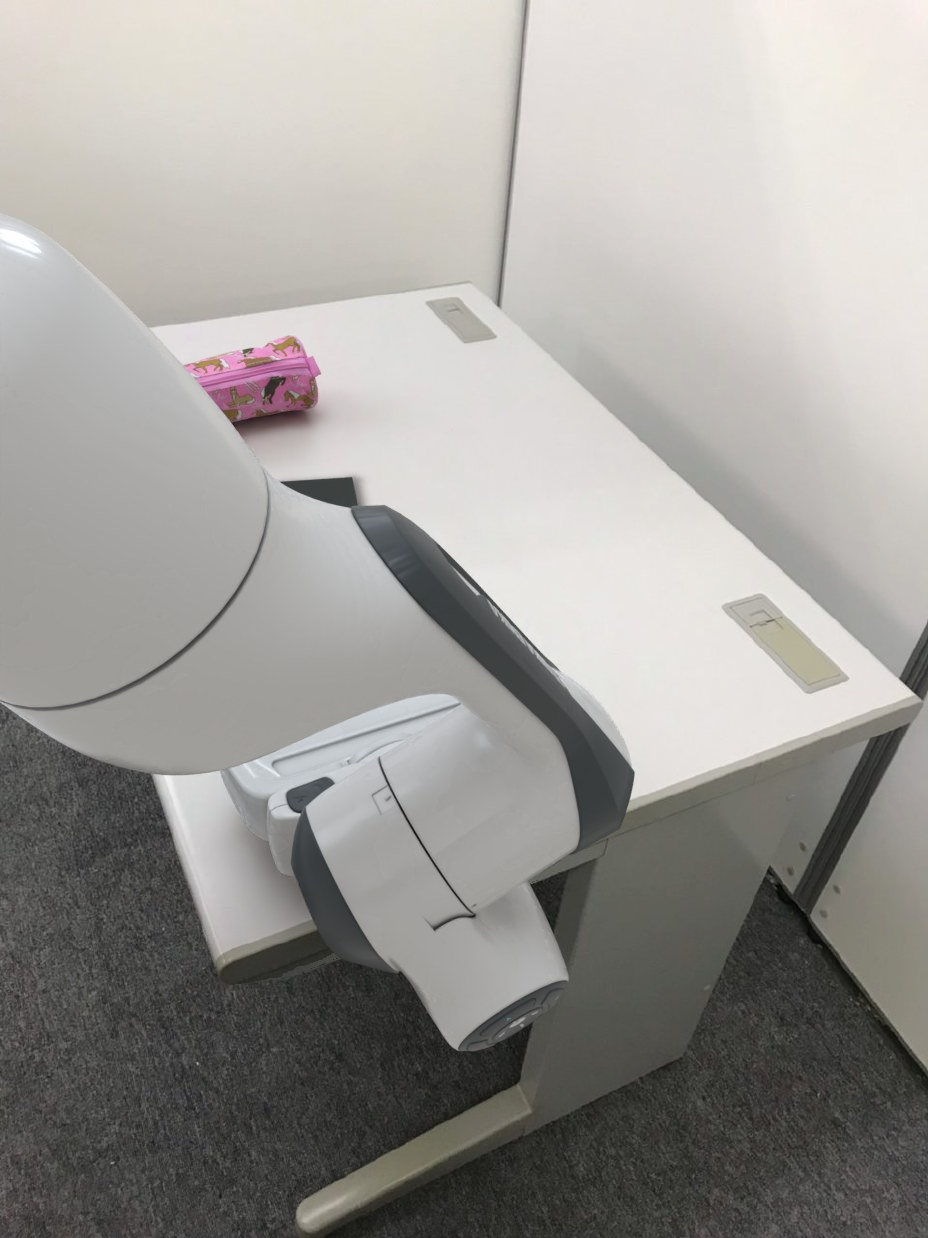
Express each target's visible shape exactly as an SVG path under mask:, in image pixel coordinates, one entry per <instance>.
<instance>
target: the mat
mask: <svg viewBox="0 0 928 1238" xmlns="http://www.w3.org/2000/svg"><path fill="white" fill-rule="evenodd" d="M280 482H281V483H282V484H283V485H285V486H287V487H289V488H290V489H292V490H294V491H296V492H298V493H301V494H303V495H305V496H308V497H310V498H313V499H316V500H319V501H322V502H326V503H329V504H333V505H338V506H343V507H348V508H351V507H352V506H359V504H358V499H357V495H356V494H357V493H356V489H355V485H354V480H353V476H347V477H330V478H314V479H300V480H299V479H298V480H297V479H296V480H282V481H280Z"/></svg>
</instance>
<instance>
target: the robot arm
mask: <svg viewBox="0 0 928 1238" xmlns="http://www.w3.org/2000/svg"><path fill="white" fill-rule="evenodd" d="M183 365H184V364H182V363H181V362H180V360H179V359H178V358H177V357H176V356H175V355H174V354H173V352H172V351H171V350H170V349H169V348H168V347H167V346H166V345H165V344H164V343H163V341H161V340H160V339H159V337H158V336H157V335H156V334H155V333H154V332H153V331H152V329H150V328H149V327H148V326H147V325H146V324H145V323H144V322H143V320H141V319H140V318H139V317H138V316H137V315H136V314H135V313H134V312H133V311H132V310H131V309H130V308H129V307H128V306H127V305H126V304H125V302H123V301H122V300H121V299H120V298H119V297H118V296H117V295H116V294H115V293H114V292H113V290H111V289H110V288H109V287H108V286H107V285H106V284H105V283H104V282H103V281H102V280H100V279H99V278H98V277H97V276H96V275H95V274H94V273H93V272H92V271H90V269H88V268H87V267H86V266H85V265H84V264H83V263H82V262H80V260H78V259H77V257H75V256H74V255H73V254H72V253H71V252H70V251H69V250H68V249H66V248H65V247H64V246H62V245H61V244H60V243H58V242H57V241H56V240H54V239H53V238H52V237H51V236H49V235H47V233H45V232H44V231H43V230H40V229H38V228H36V227H35V226H33V225H31V224H29V223H28V222H26V221H24V220H22V219H19V218H16V217H14V216H10V215H8V214H5V213H3V212H0V704H1V705H3V706H4V707H6V708H7V709H9V710H10V711H11V712H13V713H14V714H16V715H17V716H18V717H20V718H22V720H24V721H25V722H27V723H29V724H30V725H31V726H33V727H35V728H36V729H38V730H39V731H40V732H42V733H44V734H45V735H47V736H48V737H50V738H51V739H53V740H55V741H56V742H58V743H60V744H61V745H64V746H65V747H67V748H69V749H71V750H73V751H75V752H77V753H80V754H81V755H84V756H86V757H89V758H91V759H93V760H96V761H99V762H102V763H105V764H109V765H112V766H115V767H119V768H123V769H126V770H129V771H130V770H131V771H135V772H138V773H139V772H140V773H144V774H151V775H160V776H190V775H191V776H193V775H202V774H209V773H214V772H215V773H216V772H219V774H220V776H221V780H222V782H223V784H224V787H225V790H227V793H228V795H229V798H230V799H231V801H232V803H233V805H234V808H235V809H236V811H237V812H238V814H239V815H240V817H241V819H242V821H243V822H244V824H245V825H246V827H247V828H248V829H249V830H250V831H251V832H252V833H253V834H254V835H255V836H257V837H258V838H259V839H261V840H263V841H266V842H268V844H269V848H270V852H271V856H272V858H273V862H274V863H275V866H276V869H277V871H278V872H279V873H280V874H281V875H283V876H288V877H294V878H295V880H296V882H297V885H298V887H299V890H300V893H301V895H302V898H303V900H304V903H305V906H306V907H307V910H308V912H309V915H310V916H311V920H312V921H313V924H314V926H315V928H316V930H317V932H318V934H319V936H320V938H321V940H323V942H324V943H325V945H326V946H327V948H328V949H329V950H330V951H331V952H332V953H333V954H335V955H336V956H337V957H338V958H339V959H341V960H343V961H346V962H348V963H349V962H350V963H353V964H357V965H360V966H364V967H367V968H370V969H374V970H377V971H381V972H386V973H392V974H399V973H400V972H401V973H402V974H403V975H404V977H405V978H406V979H407V981H408V982H409V983H410V985H411V986H412V988H413V990H414V991H415V994H416V995H417V997H418V998H419V1001H421V1004H422V1005H423V1007H424V1008H425V1010H426V1011H427V1013H428V1015H429V1016H430V1018H431V1020H432V1021H433V1023H434V1024H435V1026H436V1027H437V1029H438V1031H439V1032H440V1034H441V1035H442V1037H443V1039H445V1041H446V1042H447V1043H448V1044H449V1046H450V1047H451V1048H453V1049H454V1050H456V1051H458V1052H477V1051H480V1050H484V1049H487V1048H490V1047H493V1046H495V1045H496V1044H497V1043H499V1042H501V1041H504V1040H505V1041H506V1040H507V1039H509V1038H510V1037H512V1036H513V1035H515V1034H516V1033H518V1032H520V1031H521V1030H523V1029H524V1028H526V1027H528V1026H529V1025H531V1024H532V1023H533V1022H535V1021H537V1020H538V1019H539V1018H541V1017H543V1016H544V1015H545V1014H546V1013H547V1012H548V1011H549V1010H550V1009H552V1008H553V1007H554V1006H555V1005H556V1004H557V1003H558V1001H559V1000H560V999H561V998H562V996H563V995H564V992H565V990H566V988H567V986H568V984H569V980H570V974H569V972H568V971H569V970H568V968H567V966H566V962H565V959H564V958H563V954H562V952H561V948H560V946H559V943H558V941H557V939H556V936H555V933H554V932H553V929H552V927H551V925H550V923H549V921H548V918H547V916H546V914H545V911H544V909H543V908H542V905H541V903H540V901H539V899H538V897H537V896H536V893H535V891H534V890H533V888H532V885H531V884H530V880H532V879H533V878H534V877H536V876H538V875H539V874H541V873H542V872H544V871H545V870H547V869H548V868H550V867H552V866H553V865H555V864H557V862H559V861H561V860H562V859H564V858H565V857H567V856H568V855H575V854H576V853H578V852H580V851H582V850H583V849H586V848H587V847H589V846H592V844H595V843H597V842H598V841H601V840H602V839H604V838H606V837H608V836H610V835H611V834H614V833H615V832H617V831H619V830H620V829H621V827H622V824H623V823H624V819H625V817H626V813H627V811H628V807H629V804H630V801H631V797H632V792H633V787H634V783H635V777H636V776H635V775H636V771H635V770H634V769H633V765H632V759H631V755H630V751H629V750H628V746H627V744H626V742H625V739H624V738H623V735H622V733H621V731H620V729H619V728H618V726H617V724H616V723H615V721H614V720H613V718H612V717H611V715H610V714H609V713H608V712H607V709H605V707H604V706H603V705H602V703H600V701H598V699H597V698H596V697H595V696H594V695H593V694H592V693H591V692H589V690H587V689H586V687H584V686H583V685H582V684H580V683H579V682H578V681H576V680H575V679H573V678H571V677H570V676H568V675H567V674H565V673H564V672H562V671H561V670H560V669H559V668H558V666H556V664H555V663H553V662H552V661H551V660H550V659H549V658H548V657H547V656H546V655H544V653H543V652H542V651H541V650H540V649H539V648H538V647H537V646H536V645H535V644H534V643H533V642H532V641H531V640H530V639H529V637H528V636H527V635H526V634H525V633H524V632H523V631H522V630H521V628H519V627H518V625H516V623H514V621H513V620H512V619H511V618H510V616H508V615H507V613H505V611H504V610H503V609H501V607H500V606H499V605H498V604H497V602H495V601H494V600H493V599H492V597H491V596H490V595H489V594H488V592H486V591H485V590H484V589H483V587H481V586H480V584H479V583H478V582H477V581H476V580H475V579H474V578H473V576H471V575H470V574H469V573H468V572H467V571H466V570H465V569H464V568H463V567H462V566H461V565H460V564H459V562H457V560H455V558H454V557H452V556H451V555H450V554H449V552H447V551H446V550H445V549H444V547H442V546H441V545H440V544H439V543H438V542H437V541H436V540H435V539H434V538H433V537H431V536H430V535H429V533H428V532H426V531H425V530H424V529H423V528H422V527H420V526H419V525H418V524H416V523H415V522H414V521H412V520H411V519H410V518H408V517H407V516H405V515H404V514H402V513H400V512H399V511H397V510H395V509H393V508H391V507H389V506H388V505H385V504H379V505H378V504H376V505H375V504H373V505H372V504H371V505H358V506H352V507H351V508H348V507H343V506H338V505H333V504H329V503H326V502H322V501H319V500H316V499H313V498H310V497H308V496H305V495H303V494H301V493H298V492H296V491H294V490H292V489H290V488H289V487H287V486H285V485H283V484H282V483H281V482H282V481H280V480H278V479H276V478H275V477H274V476H273V475H272V474H271V473H270V472H269V471H268V470H267V469H266V468H265V467H264V465H263V464H262V463H261V462H260V460H259V458H257V456H256V454H255V453H254V451H253V450H252V448H251V447H250V445H248V443H247V442H246V440H245V439H244V438H243V436H242V435H241V434H240V433H239V431H238V430H237V429H236V427H235V426H234V425H233V422H232V423H231V422H230V420H229V419H228V418H227V417H226V415H225V414H224V413H223V412H222V411H221V409H220V408H219V407H218V406H217V404H216V403H215V402H214V401H213V400H212V398H211V397H210V396H209V395H208V394H207V392H206V391H205V390H204V389H203V388H202V386H201V385H200V384H199V383H198V381H197V380H196V379H195V378H194V377H193V376H192V375H191V374H190V373H189V371H188V370H187V369H186V368H185V367H184V366H183Z"/></svg>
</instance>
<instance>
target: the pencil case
mask: <svg viewBox="0 0 928 1238" xmlns="http://www.w3.org/2000/svg"><path fill="white" fill-rule="evenodd" d="M182 365H183V366H184V367H185V368H186V369H187V370H188V371H189V373H190V374H191V375H192V376H193V377H194V378H195V379H196V380H197V381H198V383H199V384H200V385H201V386H202V388H203V389H204V390H205V391H206V392H207V394H208V395H209V396H210V397H211V398H212V400H213V401H214V402H215V403H216V404H217V406H218V407H219V408H220V409H221V411H222V412H223V413H224V414H225V415H226V417H227V418H228V419H229V420H230V422H231V423H232V424H233V423H236V422H240V421H243V420H249V419H251V418H259V417H266V416H270V415H276V414H279V413H284V412H290V411H307V410H310V409H313V408H315V407H316V406H317V404H318V401H319V387H318V383H317V379H316V378H317V377H318V376H320V375H322V372H321V369H320V368H319V366H318V364H317V362H316V360H315V357H314V355H311V356H308V355H307V352H306V349H305V347H304V345H303V343H302V341H301V340H300V338H299V337H298V336H295V335H286V336H283V337H279V338H276V339H274V340H270V341H269V342H267V344H266V345H264V346H262V347H249V348H243V349H238V350H237V349H236V350H233V351H229V352H224V353H221V354H216V355H213V356H210V357H205V358H202V359H200V360H196V361H194V362H190V363H185V364H182Z"/></svg>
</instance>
